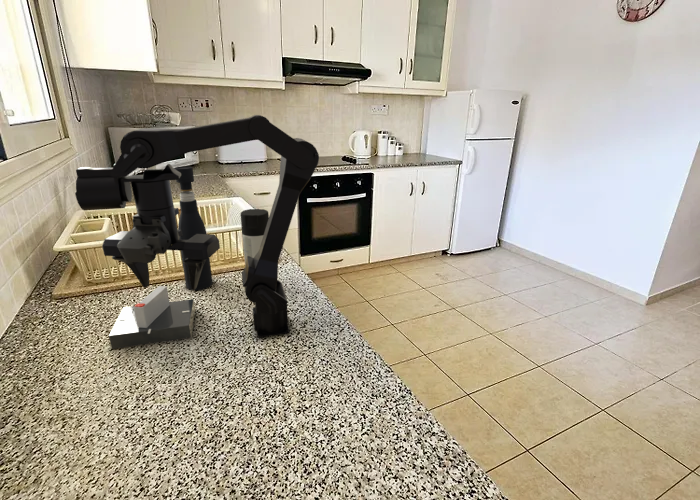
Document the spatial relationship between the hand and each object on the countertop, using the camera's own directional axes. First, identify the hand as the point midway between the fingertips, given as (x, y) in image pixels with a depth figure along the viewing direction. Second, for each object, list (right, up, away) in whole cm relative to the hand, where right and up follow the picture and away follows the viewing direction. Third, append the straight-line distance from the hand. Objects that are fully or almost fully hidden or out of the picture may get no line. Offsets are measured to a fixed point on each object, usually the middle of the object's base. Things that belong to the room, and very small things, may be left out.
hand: (170, 287), depth 69 cm
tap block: (-7, -9, +8) cm, 14 cm away
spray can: (+10, -3, +27) cm, 29 cm away
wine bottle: (-6, -2, +27) cm, 28 cm away
